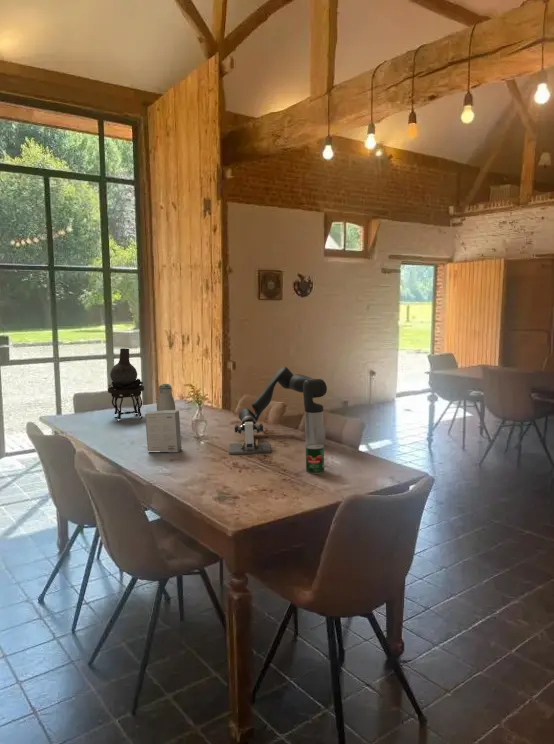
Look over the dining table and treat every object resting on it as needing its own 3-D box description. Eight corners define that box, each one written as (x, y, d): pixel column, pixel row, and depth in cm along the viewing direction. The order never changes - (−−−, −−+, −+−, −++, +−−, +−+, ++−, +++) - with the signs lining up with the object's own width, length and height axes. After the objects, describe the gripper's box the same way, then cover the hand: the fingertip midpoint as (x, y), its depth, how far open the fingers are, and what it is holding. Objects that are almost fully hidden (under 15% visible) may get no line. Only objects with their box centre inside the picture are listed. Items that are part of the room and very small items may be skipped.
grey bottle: (164, 435, 318) (161, 385, 315) (155, 432, 326) (152, 384, 322) (179, 432, 324) (176, 383, 321) (170, 429, 332) (168, 382, 329)
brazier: (111, 415, 379) (106, 347, 374) (146, 413, 383) (142, 346, 378) (108, 422, 358) (103, 350, 352) (145, 420, 361) (140, 349, 356)
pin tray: (229, 446, 291) (229, 438, 290) (269, 444, 292) (268, 436, 292) (229, 454, 275) (228, 446, 275) (270, 452, 276) (270, 444, 276)
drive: (245, 445, 286) (244, 421, 285) (253, 445, 287) (252, 421, 285) (245, 448, 280) (244, 424, 278) (253, 448, 280) (252, 424, 279)
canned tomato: (309, 474, 240) (308, 449, 239) (303, 469, 248) (302, 444, 246) (327, 472, 242) (326, 447, 241) (320, 467, 250) (320, 442, 248)
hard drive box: (182, 448, 289) (179, 410, 286) (178, 453, 281) (175, 413, 279) (152, 449, 290) (149, 410, 288) (147, 453, 283) (144, 413, 280)
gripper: (234, 417, 296) (234, 424, 280) (262, 416, 297) (263, 423, 281) (235, 431, 297) (234, 439, 281) (262, 430, 298) (263, 438, 282)
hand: (249, 431), depth 281 cm, fingers open, 8 cm apart
